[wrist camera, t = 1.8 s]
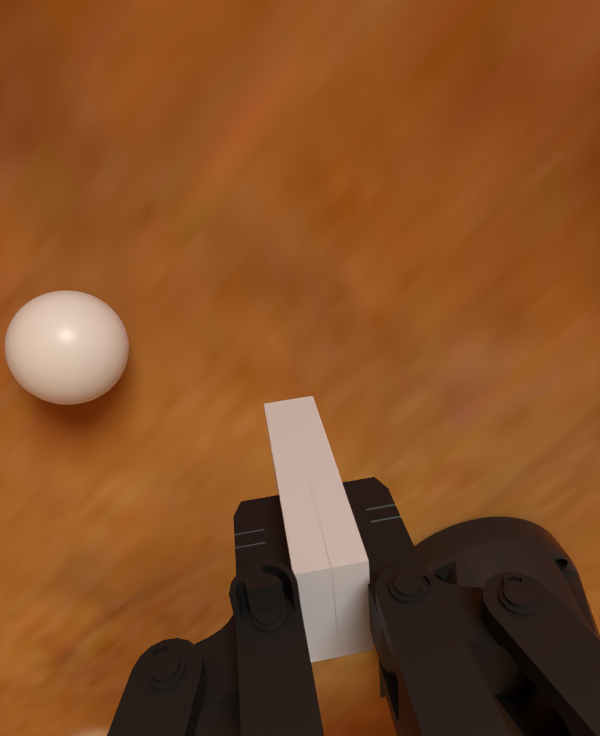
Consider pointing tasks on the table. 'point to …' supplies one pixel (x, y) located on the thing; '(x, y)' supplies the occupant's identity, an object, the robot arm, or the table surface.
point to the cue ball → (66, 347)
